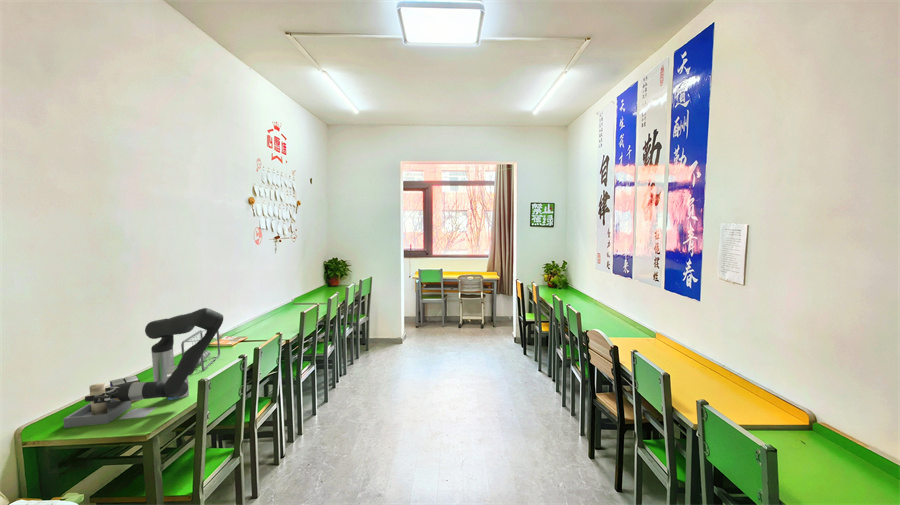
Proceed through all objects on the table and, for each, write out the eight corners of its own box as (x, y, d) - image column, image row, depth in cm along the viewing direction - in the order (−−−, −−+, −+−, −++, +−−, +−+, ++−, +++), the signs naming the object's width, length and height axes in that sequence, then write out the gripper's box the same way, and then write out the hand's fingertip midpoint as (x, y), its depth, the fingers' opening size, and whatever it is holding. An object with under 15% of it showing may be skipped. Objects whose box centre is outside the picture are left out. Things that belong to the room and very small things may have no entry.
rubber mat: (132, 410, 183) (132, 409, 183) (157, 407, 185) (157, 406, 185) (118, 420, 174) (118, 419, 174) (144, 417, 175) (144, 416, 175)
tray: (91, 411, 184) (90, 402, 183) (131, 407, 186) (130, 398, 186) (64, 428, 168) (63, 418, 168) (108, 424, 170) (107, 414, 170)
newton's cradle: (203, 371, 233) (201, 340, 231) (182, 373, 230) (180, 342, 229) (220, 355, 262) (218, 328, 261) (202, 357, 259) (200, 329, 258)
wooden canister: (97, 413, 179) (94, 383, 178) (109, 412, 180) (107, 382, 179) (88, 418, 174) (86, 388, 173) (102, 417, 175) (99, 386, 174)
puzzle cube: (111, 401, 194) (109, 380, 193) (137, 395, 201) (136, 374, 200) (114, 407, 187) (112, 386, 186) (141, 400, 194) (139, 379, 193)
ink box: (168, 401, 192) (165, 370, 191) (168, 397, 196) (165, 367, 195) (189, 396, 197) (187, 366, 196) (189, 393, 201) (187, 363, 200)
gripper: (143, 377, 185) (102, 380, 183) (123, 389, 171) (79, 392, 169) (144, 393, 186) (104, 396, 183) (125, 406, 172) (81, 410, 169)
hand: (92, 395), depth 176 cm, fingers open, 8 cm apart
